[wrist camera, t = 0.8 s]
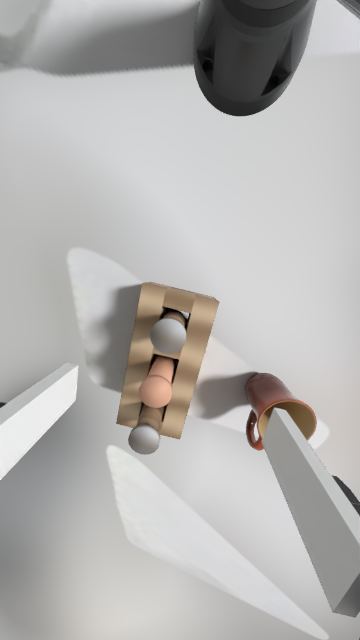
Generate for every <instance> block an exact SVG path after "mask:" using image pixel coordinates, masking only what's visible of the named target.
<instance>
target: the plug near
mask: <svg viewBox="0 0 360 640" xmlns="http://www.w3.org/2000/svg"><path fill="white" fill-rule="evenodd" d="M184 327H185V317H184V315H183V314H182V313H181V312H180V311H177V310H172V311H169V312H168V313H167V314H166V315H165V316H164V318H163V319H161V320H159V321H158V322H157V323H156V324H155V325H154V326H153V328H152V330H151V333H150V339H151V342H152V344H153V346H154V347H155V348H156V349H157V350H158V351H160V352H162V353H165V354H173V353H176V352H178V351H179V350H181V349H182V348H183V346H184V344H185V342H186V330H185V328H184Z"/></svg>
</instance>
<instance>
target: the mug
mask: <svg viewBox="0 0 360 640" xmlns="http://www.w3.org/2000/svg"><path fill="white" fill-rule="evenodd" d="M246 396H247V399H248V402H249V404H250V405H251V408H252V410H251V412H250V415H249V418H248V421H247V425H246V435H247V439H248V442H249V444H250V446H251V447H252V448H254V449H256V450H262V449H264V447H263V444H262V442H261V441H262V438H263V435H264V433H265V430H266V427H267V425H268V422H269V420H270V417H271V414H272V412H273V409H274V408H279V409H283V410H286V411H287V413H288V414H289V415H290V417H291V418H292V420H293V421H294V423H295V424H296V425H297V427H298V428H299V430H300V431H301V433H302V434H303V435H304V437H305V438H306V440H308V439H310V437H311V436H312V435H313V433H314V431H315V429H316V424H317V421H316V416H315V414H314V412H313V410H312V409H311V408H310V407H309V406H308V405H307V404H305V403H303V402H302V401H300V400H298V399H296V398H295V397H294V396H293V395H292V394H291V392H290V391H289V390H288V389H287V387H286V386H285V385H284V384H283V382H282V381H280V380H279V379H278V378H277V377H275V376H273V375H271V374H268V373H260V374H256V375H254V376H253V377H251V378H250V379H249V381H248V382H247V384H246ZM256 422H257V429H258V433H259V438H258V440H257V441H256V440H255V436H254V426H255V423H256Z"/></svg>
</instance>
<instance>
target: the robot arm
mask: <svg viewBox="0 0 360 640" xmlns="http://www.w3.org/2000/svg"><path fill="white" fill-rule="evenodd" d="M316 1H317V0H201V2H200V6H199V10H198V13H197V18H196V23H195V31H194V69H195V74H196V78H197V81H198V84H199V87H200V89H201V91H202V93H203V94H204V96H205V97H206V99H207V100H208V101H209V102H210V103H211V104H212V105H213V106H214V107H215V108H216V109H218V110H220V111H221V112H223V113H226V114H229V115H233V116H248V115H252V114H255V113H258V112H260V111H262V110H264V109H266V108H267V107H269V106H270V105H271V104H273V103H274V102H275V101H276V100H277V99H278V98H279V97H280V96H281V94H282V93H283V92H284V91H285V89H286V88H287V86H288V85H289V83H290V81H291V79H292V77H293V75H294V73H295V71H296V69H297V67H298V65H299V63H300V61H301V59H302V56H303V53H304V51H305V48H306V44H307V41H308V36H309V32H310V28H311V23H312V19H313V14H314V10H315V6H316ZM337 1H338V2H339V3H340V4H342V5H343V6H344V7H345V8H347V9H348V10H349V11H350V12H351V13H353V14H354V15H355V16H356V17H358V18H359V19H360V0H337ZM77 377H78V365H77V364H73V363H68V362H67V363H66V364H64V365H63V366H61V367H60V368H58V369H57V370H55V371H54V372H52V373H51V374H49V375H48V376H47V377H45V378H44V379H42V380H41V381H39V382H38V383H36V384H35V385H33V386H32V387H31V388H29V389H28V390H26V391H25V392H23V393H22V394H20V395H19V396H18V397H16V398H15V399H13V400H12V401H10V402H9V403H2V402H1V403H0V480H1V479H2V478H3V477H4V476H5V475H6V473H7V472H8V471H9V470H10V469H11V468H12V467H13V466H14V465H15V464H16V463H17V462H18V461H19V460H20V459H21V458H22V456H23V455H24V454H25V453H26V452H27V451H28V450H29V449H30V448H31V447H32V446H33V445H34V444H35V443H36V442H37V441H38V440H39V439H40V437H41V436H42V435H43V434H44V433H45V432H46V431H47V430H48V429H49V428H50V427H51V426H52V425H53V424H54V423H55V422H56V420H57V419H58V418H59V417H60V416H61V415H62V414H63V413H64V412H65V411H66V410H67V409H68V408H69V407H70V406H71V404H73V402H74V401H75V400H76V391H77ZM261 442H262V444H263V447H264V449H265V451H266V454H267V456H268V459H269V461H270V463H271V465H272V468H273V470H274V473H275V475H276V477H277V480H278V482H279V485H280V487H281V490H282V492H283V494H284V497H285V499H286V502H287V504H288V506H289V509H290V511H291V514H292V516H293V518H294V520H295V523H296V526H297V528H298V530H299V533H300V535H301V537H302V540H303V542H304V545H305V547H306V549H307V552H308V554H309V556H310V559H311V561H312V564H313V566H314V569H315V571H316V573H317V576H318V578H319V581H320V583H321V585H322V587H323V590H324V593H325V595H326V597H327V600H328V602H329V605H330V607H331V609H332V612H334V613H339V614H343V615H347V616H351V617H356V616H357V615H358V613H359V612H360V502H359V501H358V500H357V498H356V497H355V496H354V494H353V493H352V492H351V490H350V489H349V488H348V487H347V486H346V485H345V484H344V483H343V482H342V481H341V480H340V479H339V478H338V477H336V476H332V475H331V474H330V473H329V471H328V470H327V468H326V467H325V466H324V464H323V463H322V461H321V460H320V459H319V457H318V456H317V454H316V453H315V451H314V450H313V448H312V447H311V445H310V444H309V443H308V441H307V440H306V438H305V437H304V435H303V434H302V433H301V431H300V430H299V428H298V427H297V425H296V424H295V423H294V421H293V420H292V418H291V417H290V415H289V414H288V413H287V411H286V410H283V409H279V408H274V409H273V412H272V414H271V417H270V420H269V422H268V425H267V427H266V430H265V433H264V435H263V438H262V441H261ZM359 640H360V639H359Z"/></svg>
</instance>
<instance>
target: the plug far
mask: <svg viewBox="0 0 360 640" xmlns="http://www.w3.org/2000/svg"><path fill="white" fill-rule="evenodd" d="M163 410H164V406H163V407H160V408H153V407H149V406H147V405H146V404H144V406H143V409H142V411H141V414H140V417H139V419H138V422H137V425H136V426H135V427H134V428H133V429H132V431H131V433H130V435H129V439H128V441H129V445H130V447H131V448H132V449H133V450H134V451H135V452H137V453H140V454H151V453H153V452H155V451H156V449H158V447H159V442H160V434H159V429H160V424H161V419H162V415H163Z"/></svg>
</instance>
